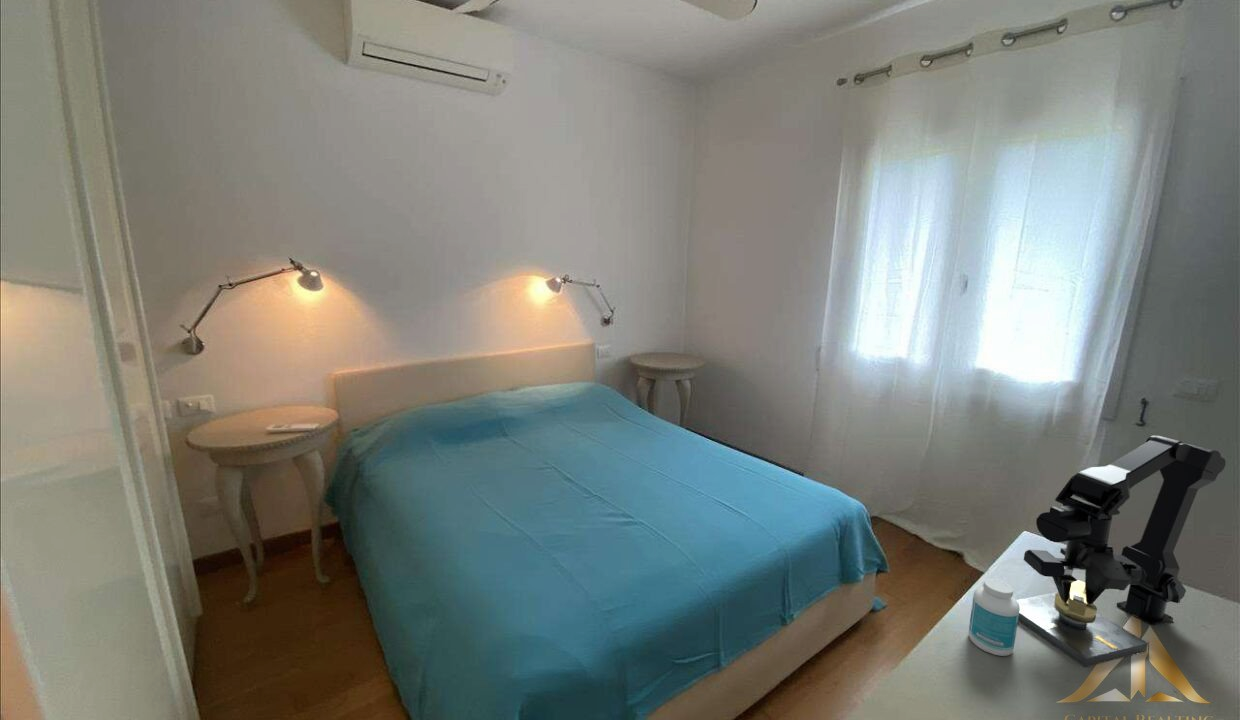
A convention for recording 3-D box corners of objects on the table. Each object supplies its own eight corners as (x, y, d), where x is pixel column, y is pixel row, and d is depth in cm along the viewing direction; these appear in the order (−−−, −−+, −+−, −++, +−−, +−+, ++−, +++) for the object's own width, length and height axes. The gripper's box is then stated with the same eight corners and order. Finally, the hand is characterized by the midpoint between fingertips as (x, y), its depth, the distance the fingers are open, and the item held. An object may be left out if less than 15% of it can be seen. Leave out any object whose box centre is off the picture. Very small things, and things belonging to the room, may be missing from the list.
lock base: (1058, 598, 111) (1061, 583, 110) (1146, 651, 96) (1150, 634, 95) (1003, 610, 108) (1005, 594, 107) (1084, 667, 92) (1088, 649, 91)
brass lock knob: (1053, 594, 106) (1057, 572, 105) (1094, 607, 102) (1098, 585, 101) (1053, 616, 100) (1057, 593, 99) (1096, 631, 95) (1100, 607, 94)
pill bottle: (1021, 660, 94) (1031, 600, 91) (979, 655, 95) (987, 595, 93) (1000, 632, 101) (1008, 575, 99) (960, 627, 103) (968, 572, 100)
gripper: (1067, 553, 91) (1054, 625, 94) (1180, 560, 88) (1164, 634, 91) (1027, 523, 102) (1017, 588, 104) (1127, 529, 99) (1114, 596, 102)
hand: (1076, 602), depth 100 cm, fingers closed on brass lock knob, 4 cm apart
